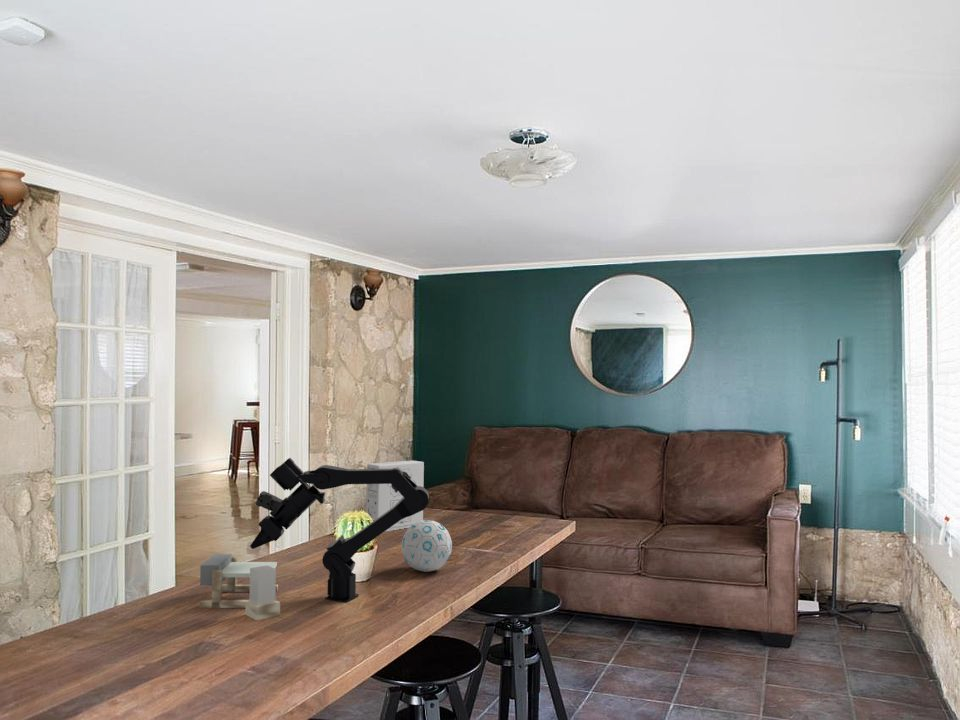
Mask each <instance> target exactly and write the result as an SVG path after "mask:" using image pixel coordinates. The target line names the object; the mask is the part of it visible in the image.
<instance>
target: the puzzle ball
mask: <svg viewBox="0 0 960 720" xmlns="http://www.w3.org/2000/svg"><path fill="white" fill-rule="evenodd" d="M452 549H453V541H452V538H451V535H450V532H449V531H448V530H447V528H446V527H445V526H444V525H443V524H441V523H439V522H438V521H435V520H430V519H429V520H428V519H423V521H419V522H417V523H415V524H413V525H412V526H410V527H409V528H407V529H406V531H405V533H403V536H402V540H401V553H402V556H403V558H404V560H405V562H406V563H407V564H408V565H409V566H410V567H411V568H412V569H415V570H417V571H420V572H423V573H429V572H433V571H437V570H438V569H440V568H442V567H443V566H444V565H446V563H447V562H448V560H449V558H450V556H451V554H452Z"/></svg>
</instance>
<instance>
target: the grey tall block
mask: <svg viewBox="0 0 960 720" xmlns="http://www.w3.org/2000/svg"><path fill="white" fill-rule="evenodd" d="M276 575H277V568H276V567H275V568H272V567H270V566H268V565H267V566H260V567H254V568H250V577H249V584H250V592H249V597H248V598H249V599H248V600H249V602H251V603H253V604H255V605H257V606H259V605H264V604H269V603H274V602H275V600H276V592H275V591H276V584H277V583H276V581H277V576H276Z"/></svg>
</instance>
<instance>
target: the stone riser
mask: <svg viewBox="0 0 960 720" xmlns="http://www.w3.org/2000/svg"><path fill="white" fill-rule="evenodd" d="M244 611H245V613H244V614H245V616H247V617H249V618H251V619H252V620H255V621H261V620H262V621H263V620H266V619H270V618H275V617H280V616H281V602H280V601H278V600H277V599H275V602H274V603H269V604H264V605H259V606H257V605H255V604H253V603H251V602H249V601H246V607H245V609H244Z"/></svg>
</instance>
